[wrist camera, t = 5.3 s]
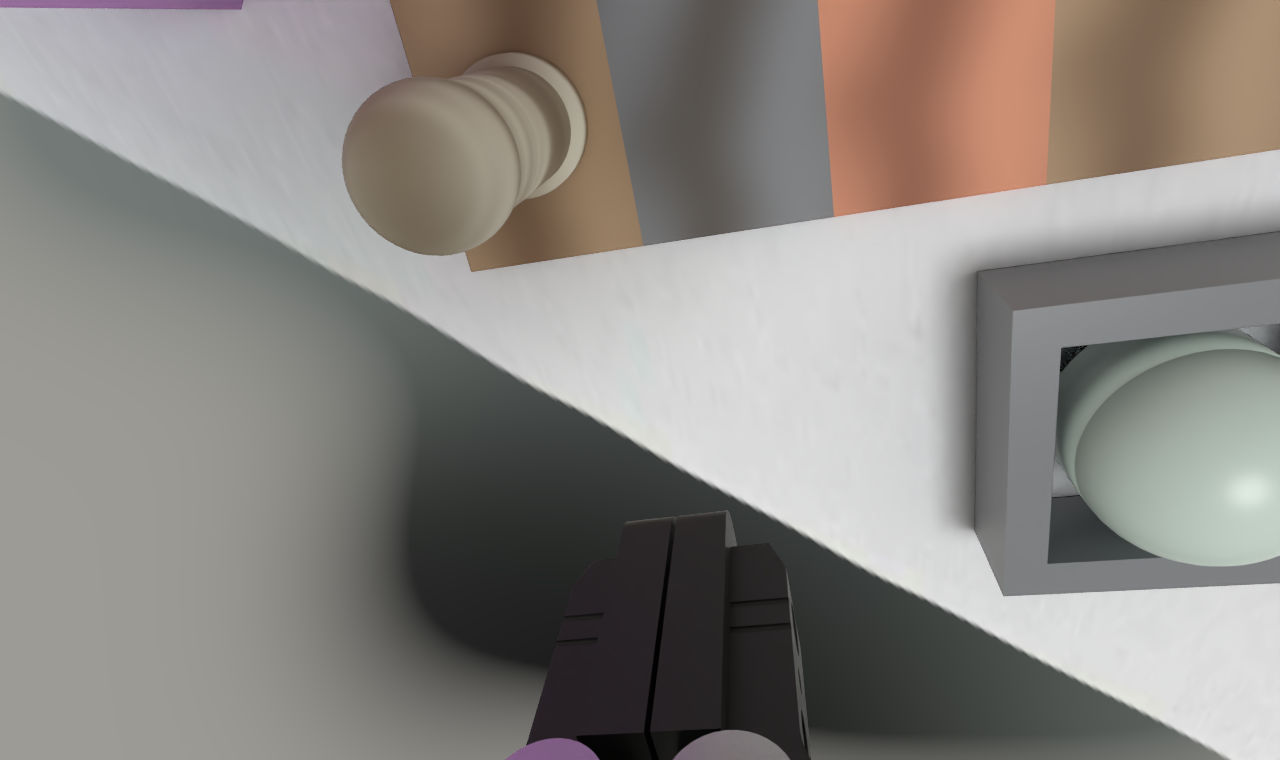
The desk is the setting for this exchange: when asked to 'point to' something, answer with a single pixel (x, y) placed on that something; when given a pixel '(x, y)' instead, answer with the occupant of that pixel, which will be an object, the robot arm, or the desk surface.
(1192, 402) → the dome
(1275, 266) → the dome housing
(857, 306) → the desk surface
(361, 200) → the pawn
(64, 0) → the teapot
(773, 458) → the desk surface
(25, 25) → the desk surface
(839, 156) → the track board
